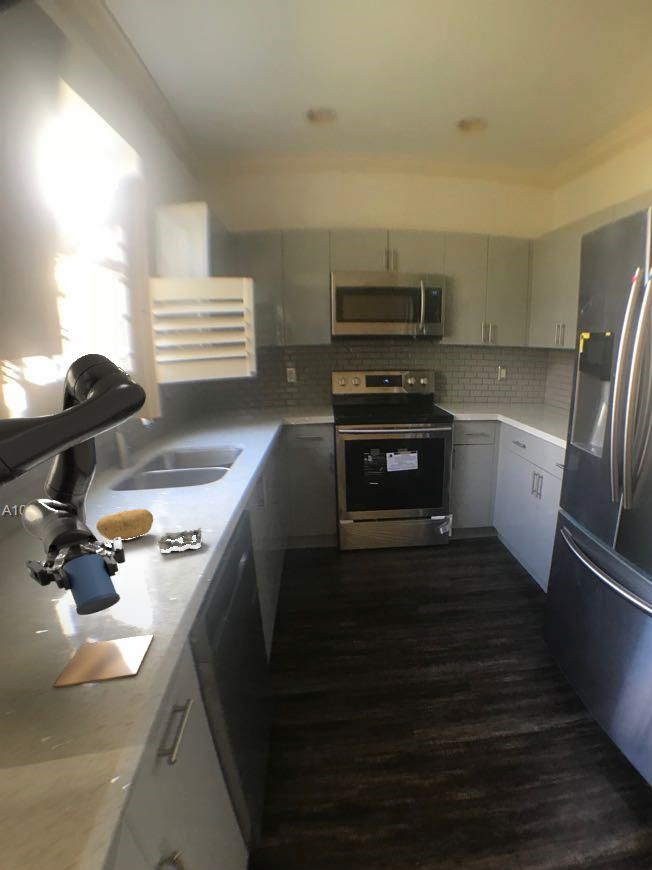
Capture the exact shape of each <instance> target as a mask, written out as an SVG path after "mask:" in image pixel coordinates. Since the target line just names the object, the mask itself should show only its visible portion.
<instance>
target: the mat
mask: <svg viewBox="0 0 652 870" xmlns="http://www.w3.org/2000/svg"><path fill="white" fill-rule="evenodd" d="M154 637H155V635H154V634H148V635H139V636H133V637H126V638H125V637H124V638H117V639H110V640H103V641H97V642H96V641H95V642H89V643H88V642H87V643H82V644H81V645H80V647H79V648H78V649H77V650H76V653H75V654H74V656H73V657H72V659H71V660H70V662H69V663H68V665H67V666H66V667H65V669H64V670H63V672H62V674H61V675H60V676H59V678H58V680H57V681H56V683H55V684H54V689H57V688H64V687H70V686H74V685H75V686H76V685H77V686H78V685H83V684H89V683H97V682H104V681H110V680H116V679H122V678H130V677H136V676H137V675H138V673H139V671H140V668H141V666H142V664H143V662H144V660H145V657H146V655H147V653H148V650H149V649H150V646H151V644H152V641H153V639H154Z"/></svg>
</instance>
